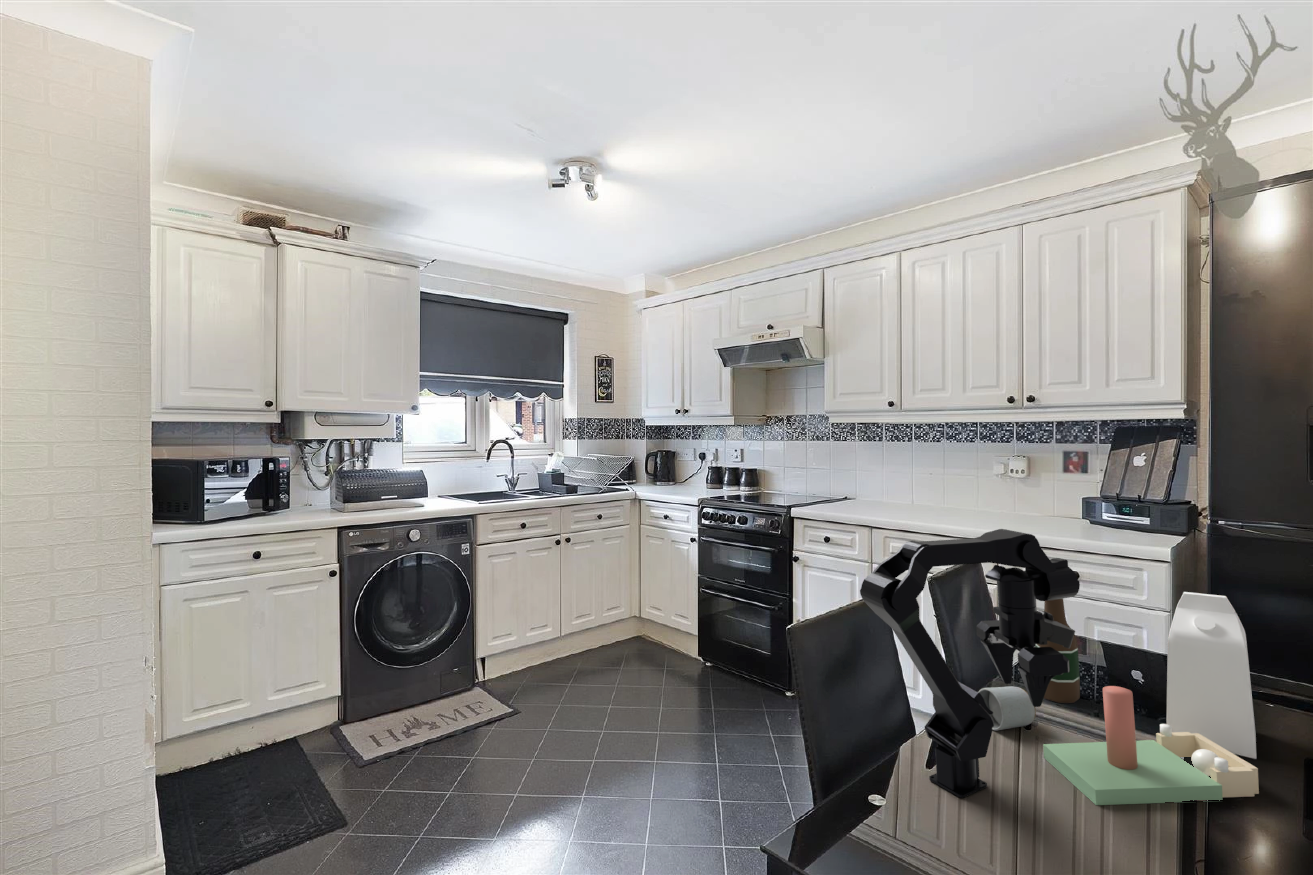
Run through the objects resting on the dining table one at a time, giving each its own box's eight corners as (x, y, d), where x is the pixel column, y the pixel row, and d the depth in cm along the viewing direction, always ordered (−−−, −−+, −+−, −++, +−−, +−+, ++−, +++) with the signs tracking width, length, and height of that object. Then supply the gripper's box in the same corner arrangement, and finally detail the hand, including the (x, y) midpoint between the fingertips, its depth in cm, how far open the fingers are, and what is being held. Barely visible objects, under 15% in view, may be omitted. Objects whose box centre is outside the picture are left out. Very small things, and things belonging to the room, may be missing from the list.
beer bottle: (1079, 692, 136) (1074, 581, 135) (1081, 706, 129) (1075, 590, 129) (1037, 686, 140) (1032, 578, 139) (1036, 699, 133) (1031, 587, 133)
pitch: (1096, 805, 97) (1095, 789, 97) (1043, 757, 111) (1043, 744, 111) (1222, 800, 97) (1221, 785, 97) (1154, 753, 111) (1153, 739, 111)
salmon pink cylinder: (1129, 772, 101) (1123, 697, 101) (1102, 761, 105) (1097, 689, 105) (1142, 764, 103) (1137, 691, 103) (1116, 754, 107) (1111, 684, 107)
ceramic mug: (1040, 731, 121) (1038, 691, 121) (1003, 737, 119) (1001, 697, 119) (999, 708, 131) (997, 671, 131) (965, 714, 129) (963, 677, 129)
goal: (1218, 798, 97) (1217, 763, 97) (1156, 755, 110) (1154, 723, 110) (1263, 796, 97) (1262, 761, 97) (1195, 753, 110) (1194, 722, 110)
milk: (1255, 732, 116) (1249, 591, 115) (1256, 758, 107) (1249, 607, 107) (1171, 714, 124) (1165, 583, 123) (1166, 738, 115) (1159, 597, 115)
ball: (1234, 776, 100) (1208, 776, 101) (1215, 776, 104) (1190, 775, 104) (1224, 749, 102) (1198, 748, 102) (1206, 749, 106) (1181, 748, 106)
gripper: (1101, 618, 98) (1106, 717, 98) (1034, 587, 117) (1038, 671, 117) (1028, 621, 98) (1033, 720, 99) (973, 590, 117) (977, 673, 117)
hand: (1021, 694), depth 108 cm, fingers open, 9 cm apart
